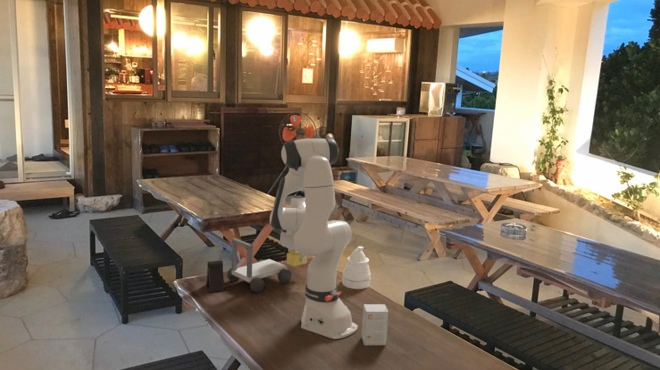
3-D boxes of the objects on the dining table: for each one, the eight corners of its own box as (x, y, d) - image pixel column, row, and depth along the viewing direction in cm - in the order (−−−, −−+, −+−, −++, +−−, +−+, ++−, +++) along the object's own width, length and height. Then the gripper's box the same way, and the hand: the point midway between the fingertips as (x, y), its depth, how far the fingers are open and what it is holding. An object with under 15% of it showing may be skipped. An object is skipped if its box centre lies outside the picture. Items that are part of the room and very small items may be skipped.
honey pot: (375, 287, 243) (378, 249, 240) (350, 290, 238) (352, 251, 234) (361, 276, 255) (364, 240, 251) (337, 280, 249) (339, 242, 246)
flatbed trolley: (264, 270, 257) (265, 228, 252) (291, 281, 245) (292, 237, 240) (226, 281, 241) (227, 237, 236) (253, 294, 229) (254, 247, 224)
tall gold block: (307, 262, 249) (307, 252, 247) (293, 266, 243) (294, 256, 242) (299, 259, 252) (300, 249, 251) (286, 263, 246) (287, 253, 245)
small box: (382, 337, 197) (385, 303, 195) (386, 345, 191) (388, 311, 189) (360, 337, 197) (363, 303, 194) (363, 345, 190) (366, 311, 188)
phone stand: (224, 291, 231) (224, 264, 228) (210, 292, 228) (210, 265, 226) (219, 283, 239) (219, 257, 236) (205, 284, 236) (205, 258, 234)
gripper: (320, 235, 240) (318, 264, 243) (288, 224, 253) (287, 252, 256) (310, 237, 235) (308, 267, 238) (278, 227, 249) (277, 255, 251)
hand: (297, 259), depth 247 cm, fingers closed on tall gold block, 5 cm apart
